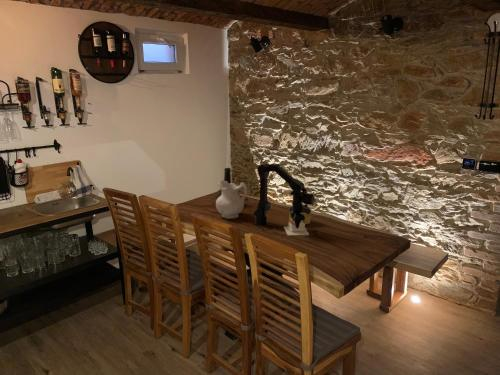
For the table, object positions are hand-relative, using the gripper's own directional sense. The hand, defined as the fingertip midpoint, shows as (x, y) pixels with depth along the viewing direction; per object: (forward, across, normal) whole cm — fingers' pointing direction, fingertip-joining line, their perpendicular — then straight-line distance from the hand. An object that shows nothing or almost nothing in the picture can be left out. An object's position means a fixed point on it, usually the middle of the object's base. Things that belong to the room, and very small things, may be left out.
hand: (296, 226), depth 243 cm
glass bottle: (+4, +57, +40) cm, 70 cm away
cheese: (+4, +15, -6) cm, 16 cm away
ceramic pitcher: (+4, +31, +38) cm, 49 cm away
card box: (+2, 0, 0) cm, 2 cm away
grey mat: (+3, 0, 0) cm, 3 cm away
